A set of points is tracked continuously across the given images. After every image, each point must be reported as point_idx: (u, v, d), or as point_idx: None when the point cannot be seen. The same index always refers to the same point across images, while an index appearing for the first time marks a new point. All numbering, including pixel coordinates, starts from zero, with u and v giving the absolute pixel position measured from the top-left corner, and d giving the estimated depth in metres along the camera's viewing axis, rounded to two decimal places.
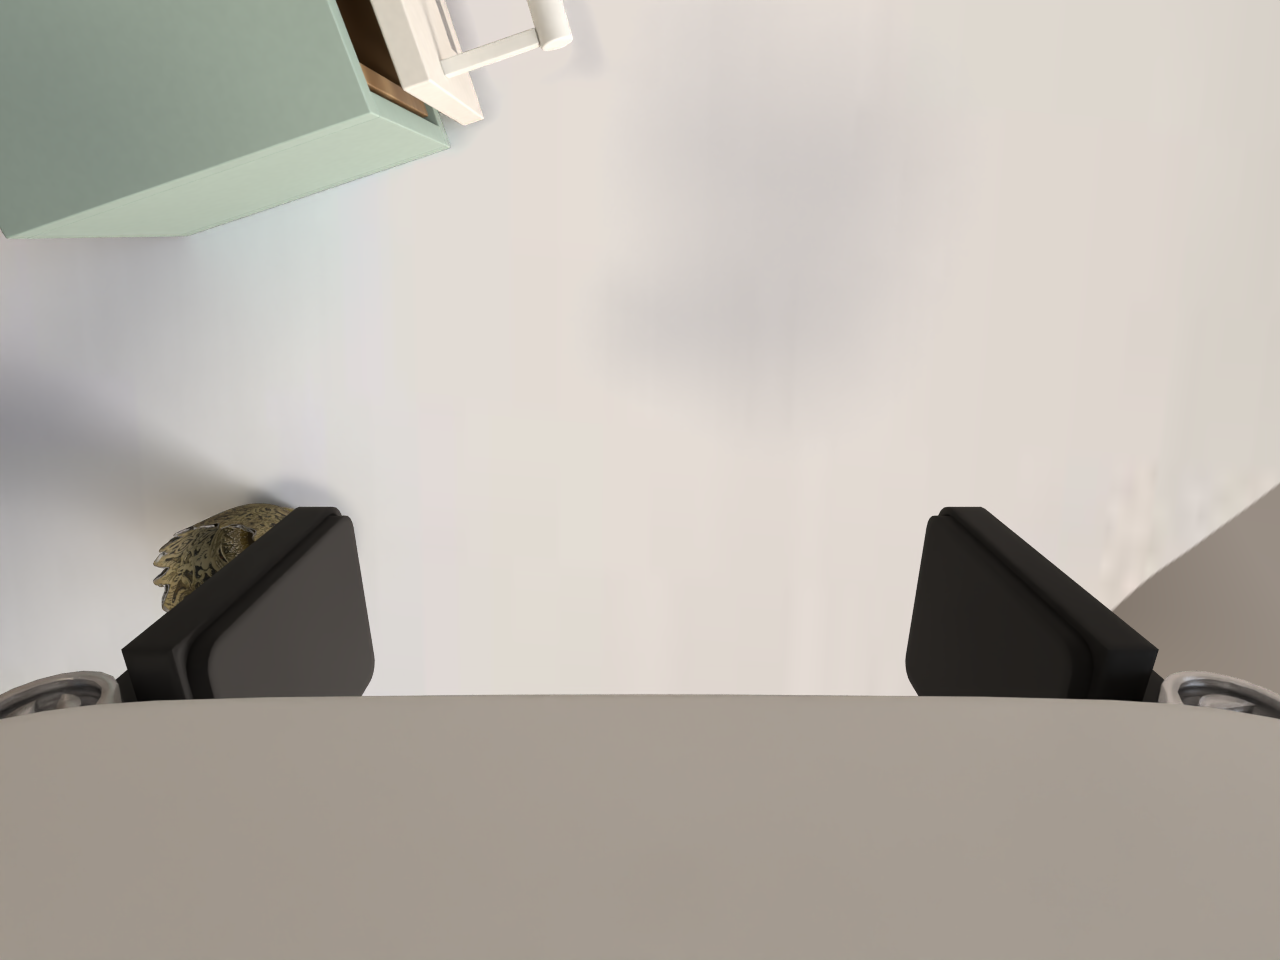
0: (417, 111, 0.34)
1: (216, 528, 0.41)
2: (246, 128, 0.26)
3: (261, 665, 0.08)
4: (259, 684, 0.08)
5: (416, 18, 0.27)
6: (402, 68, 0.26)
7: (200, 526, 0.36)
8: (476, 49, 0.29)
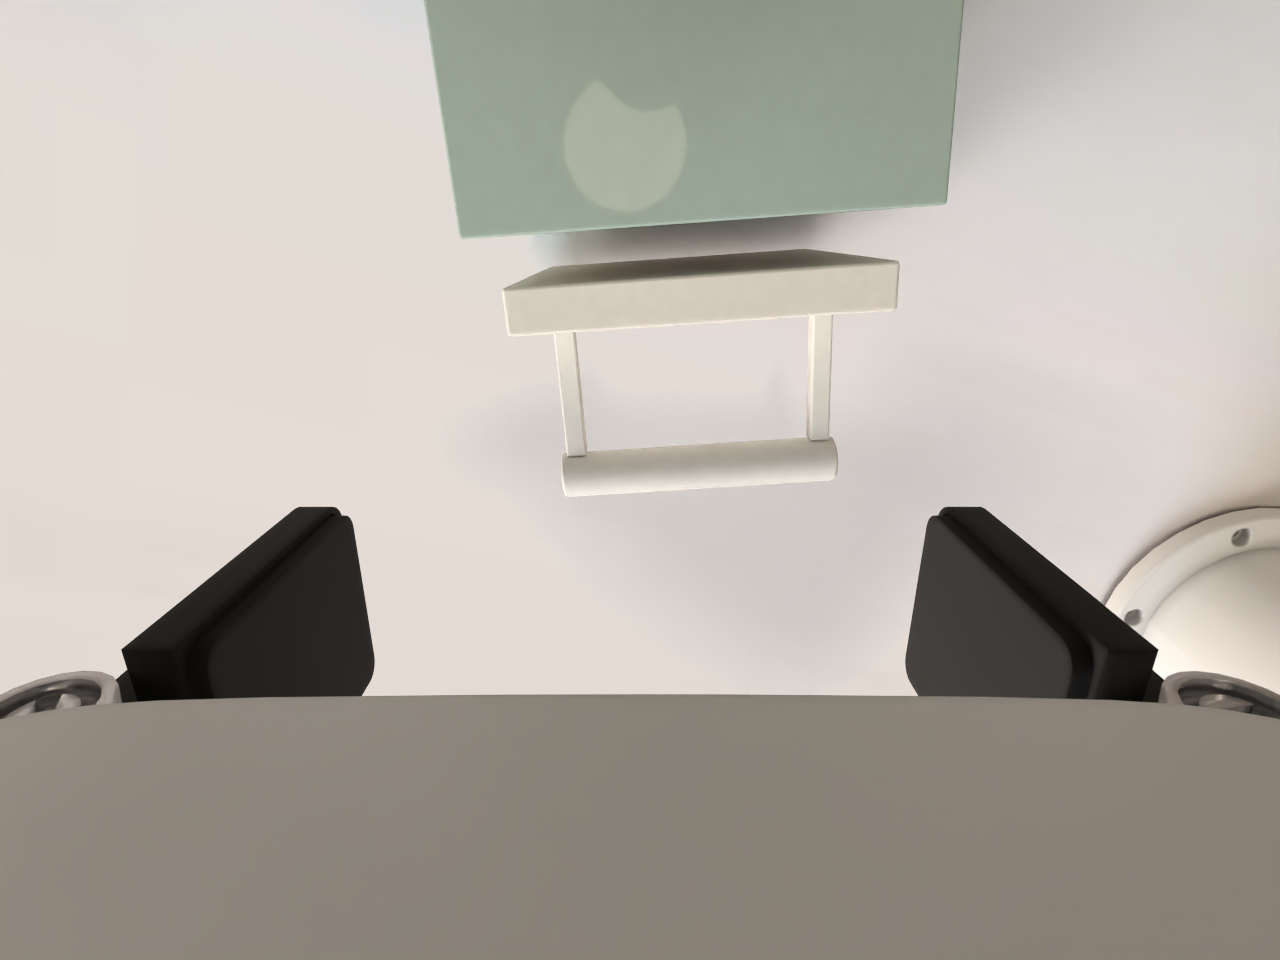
0: None
1: None
2: None
3: (261, 665, 0.08)
4: (259, 684, 0.08)
5: None
6: (530, 299, 0.17)
7: None
8: (578, 372, 0.21)
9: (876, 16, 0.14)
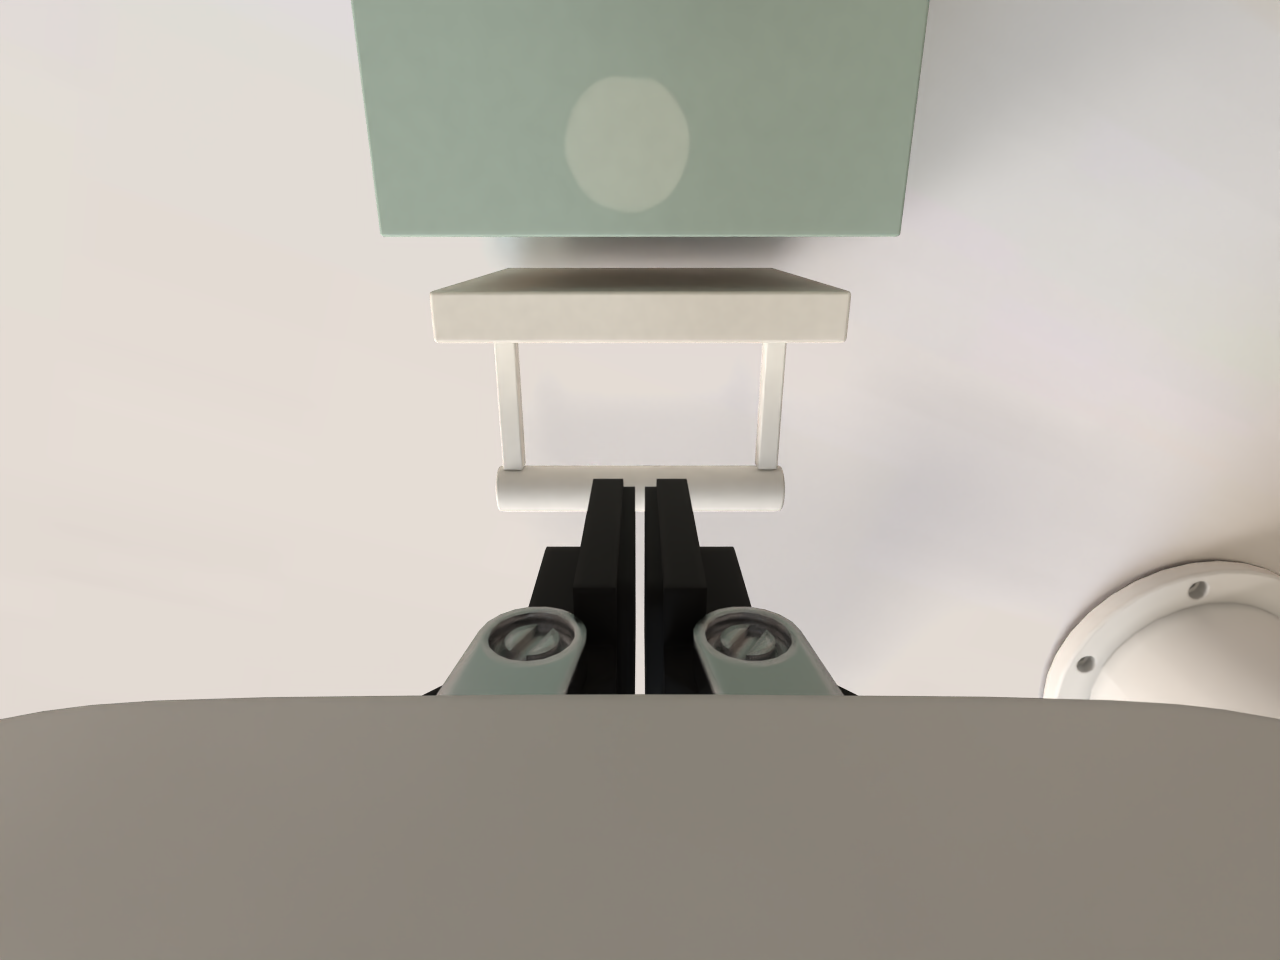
0: None
1: None
2: None
3: None
4: None
5: None
6: (459, 305, 0.16)
7: None
8: (518, 382, 0.20)
9: (833, 32, 0.13)
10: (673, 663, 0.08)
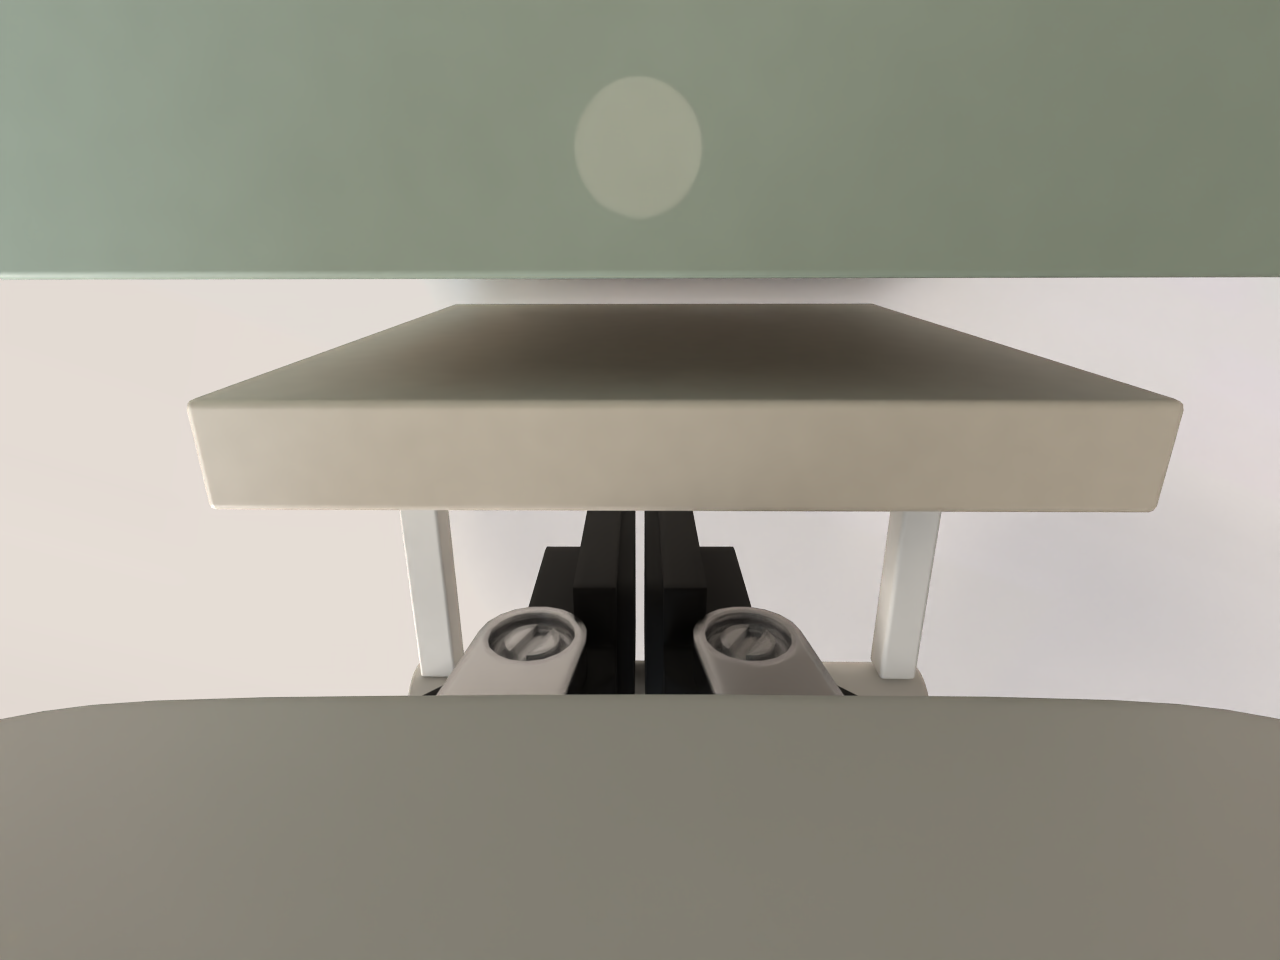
0: None
1: None
2: None
3: None
4: None
5: None
6: (256, 430, 0.07)
7: None
8: (443, 529, 0.11)
9: None
10: (673, 663, 0.08)
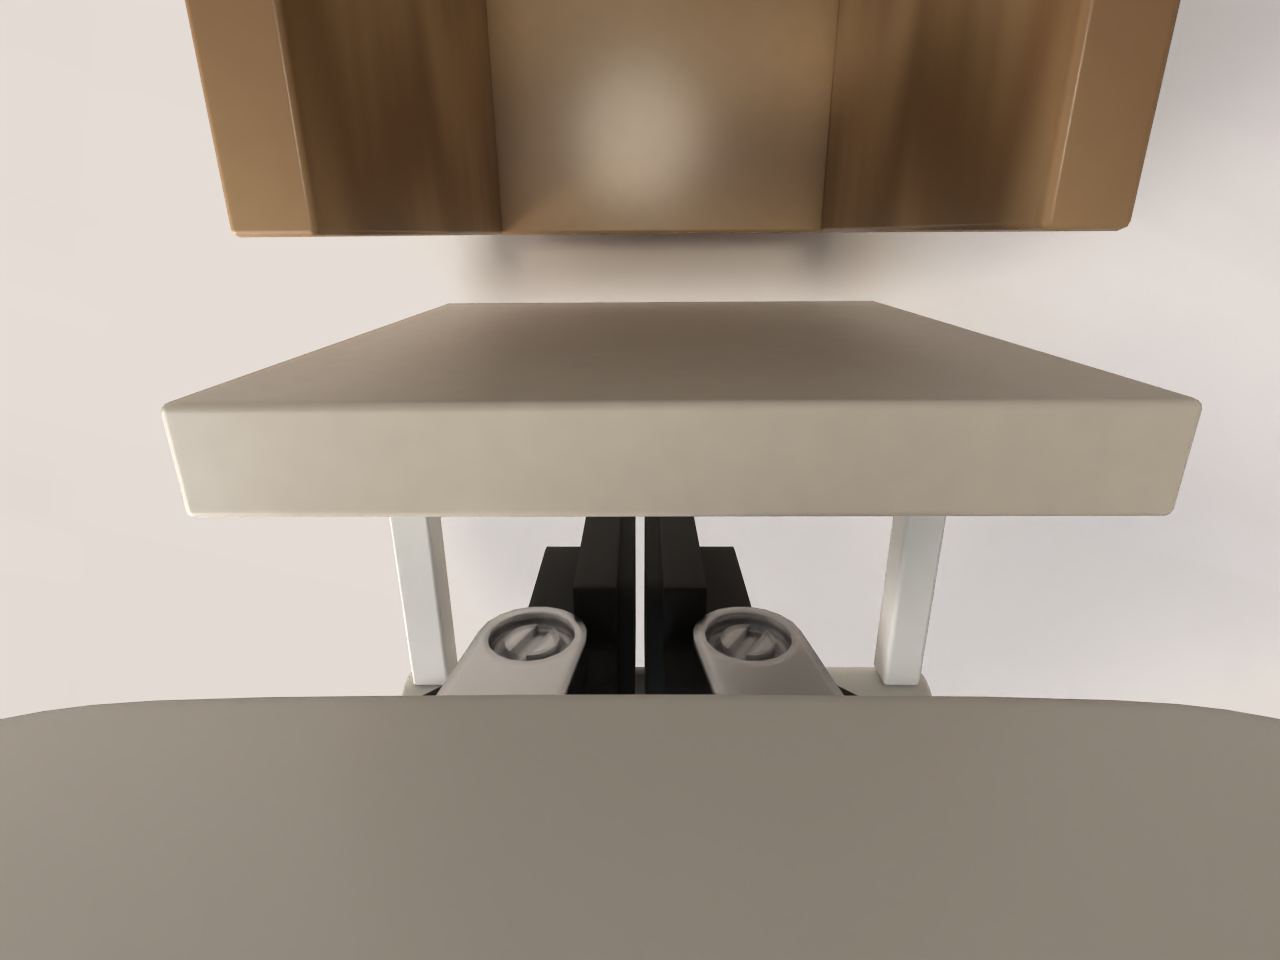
0: None
1: None
2: None
3: None
4: None
5: None
6: (234, 435, 0.06)
7: None
8: (435, 534, 0.10)
9: None
10: (673, 663, 0.08)
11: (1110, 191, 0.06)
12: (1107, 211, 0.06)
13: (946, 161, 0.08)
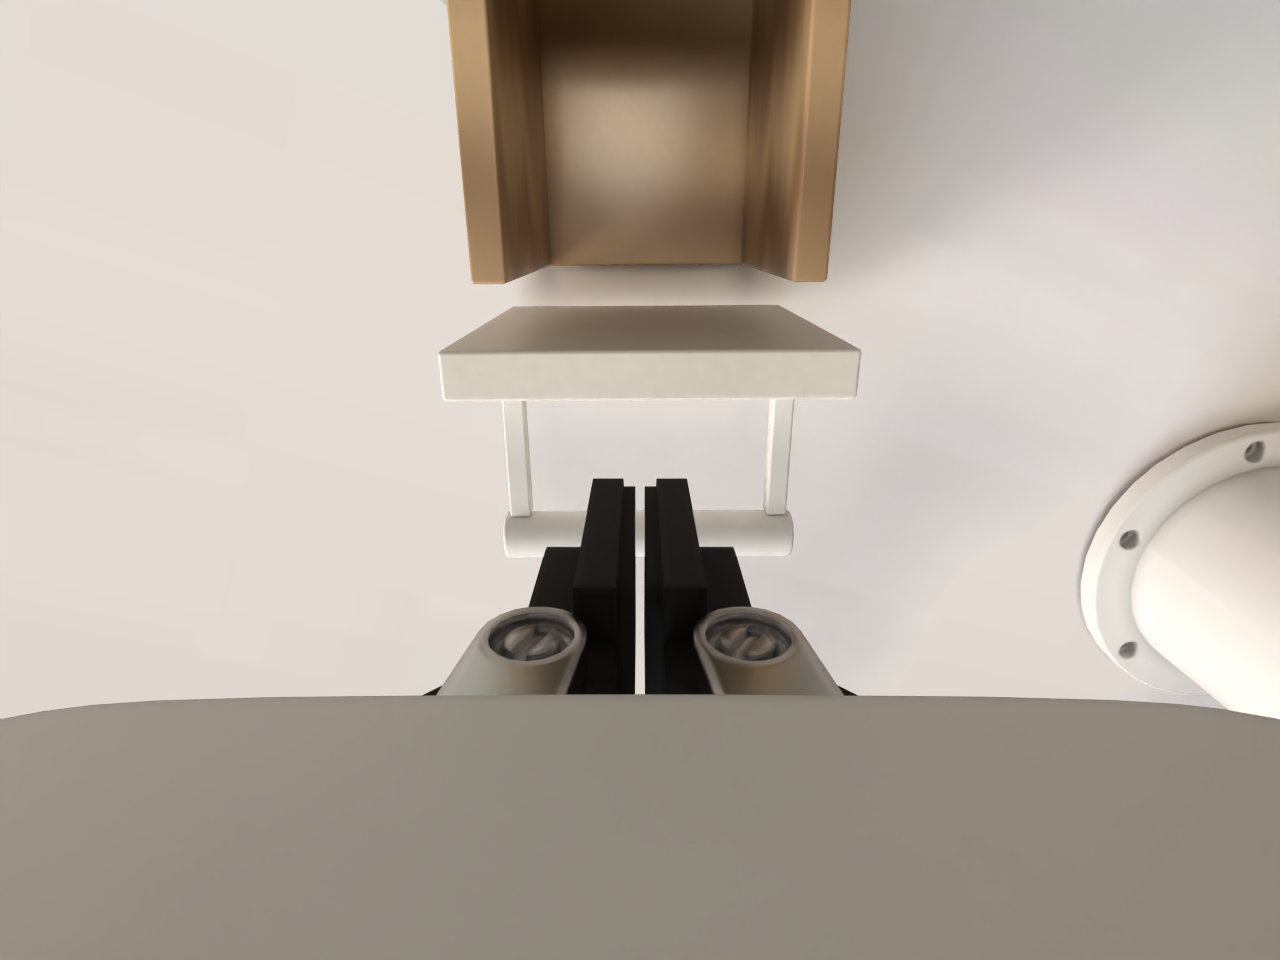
0: None
1: None
2: None
3: None
4: None
5: None
6: (468, 364, 0.16)
7: None
8: (526, 430, 0.20)
9: None
10: (673, 663, 0.08)
11: (817, 267, 0.15)
12: (816, 274, 0.15)
13: (775, 243, 0.17)
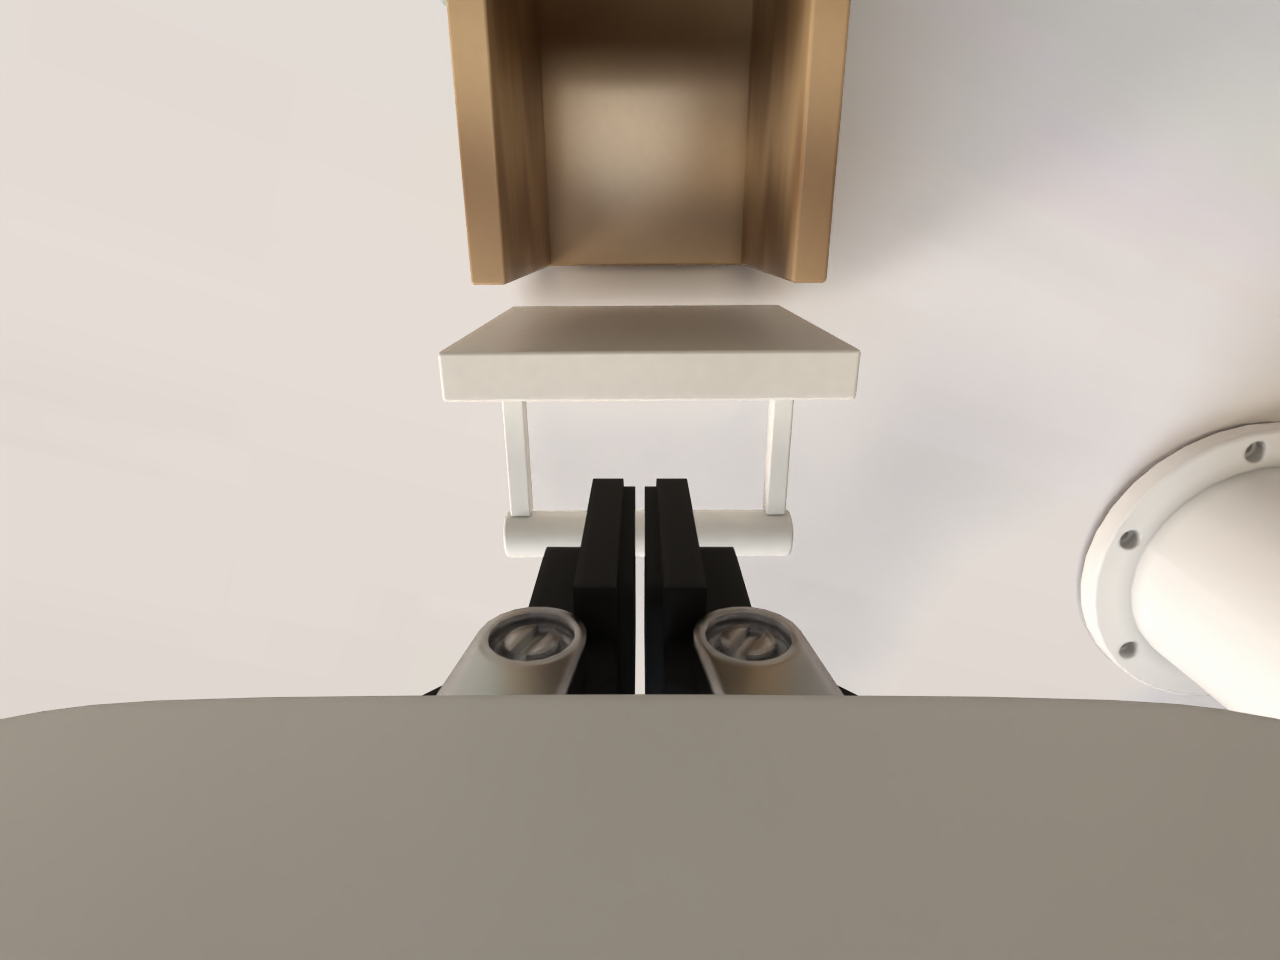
0: None
1: None
2: None
3: None
4: None
5: None
6: (468, 365, 0.16)
7: None
8: (526, 430, 0.20)
9: None
10: (673, 663, 0.08)
11: (816, 268, 0.15)
12: (816, 275, 0.15)
13: (774, 244, 0.17)
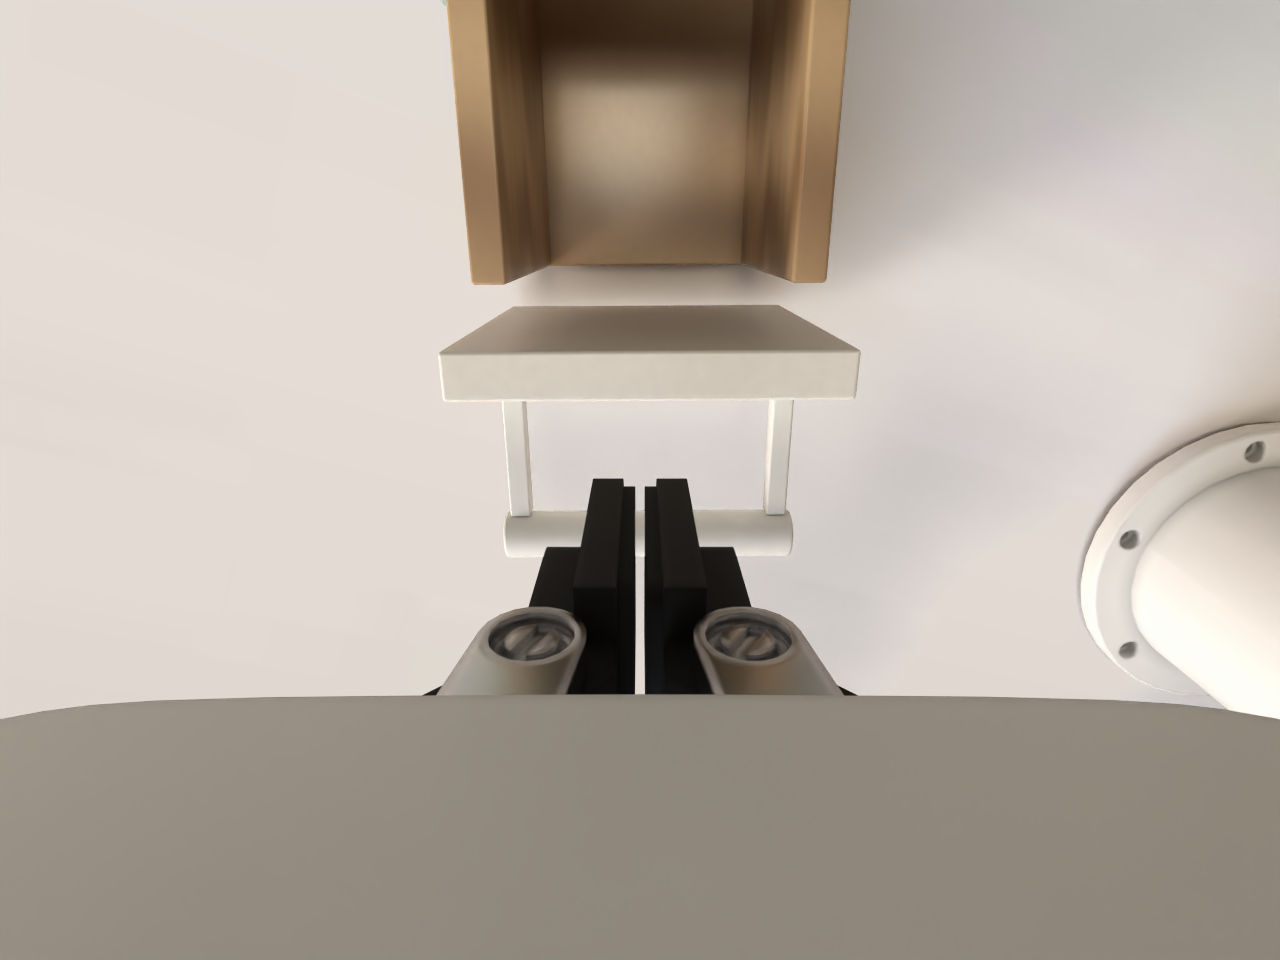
0: None
1: None
2: None
3: None
4: None
5: None
6: (468, 365, 0.16)
7: None
8: (526, 430, 0.20)
9: None
10: (673, 663, 0.08)
11: (816, 268, 0.15)
12: (816, 275, 0.15)
13: (774, 244, 0.17)
